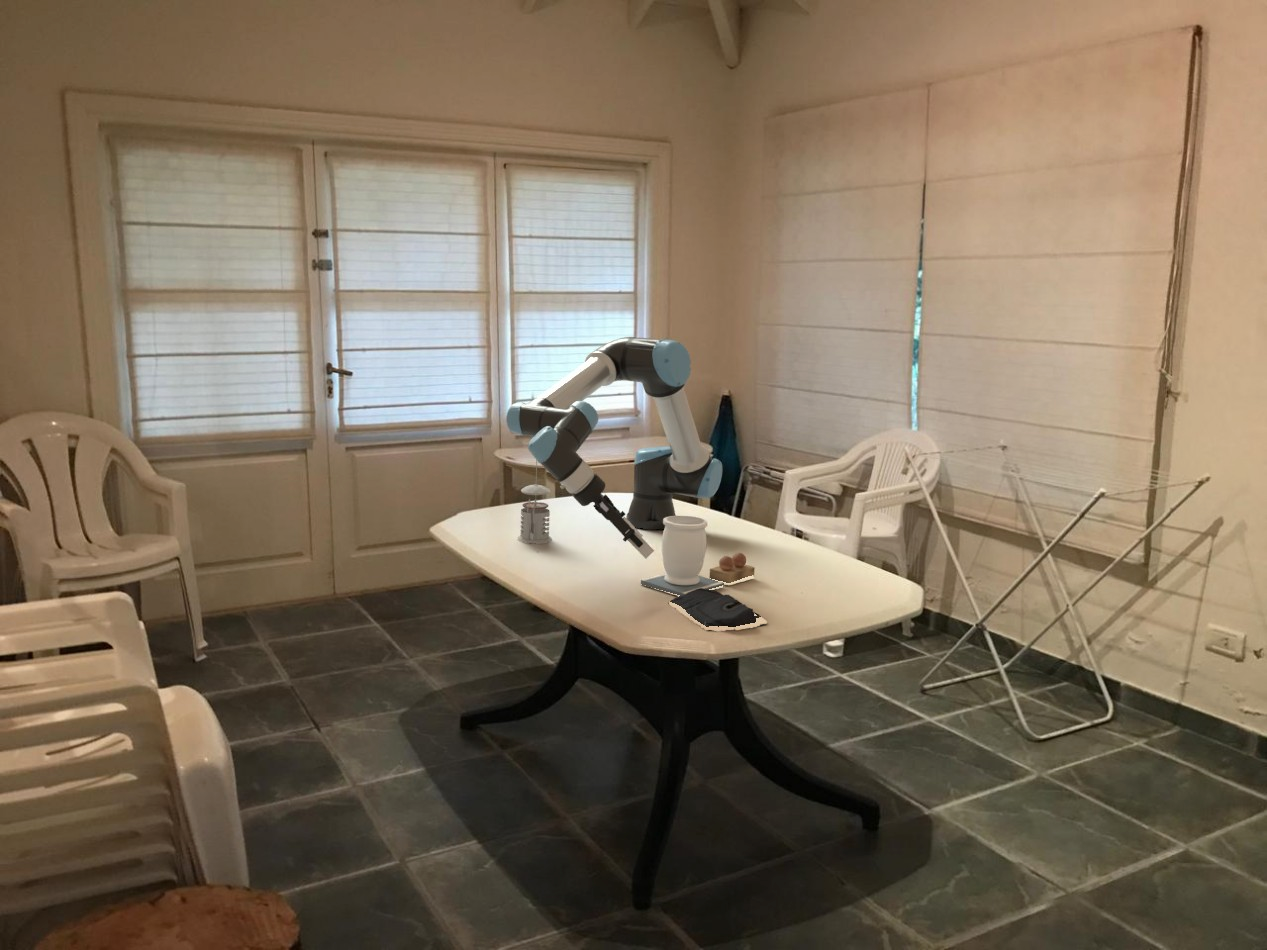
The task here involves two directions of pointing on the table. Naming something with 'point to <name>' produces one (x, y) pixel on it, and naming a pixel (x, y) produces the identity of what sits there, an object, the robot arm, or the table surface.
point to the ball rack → (732, 569)
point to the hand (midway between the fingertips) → (644, 546)
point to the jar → (683, 549)
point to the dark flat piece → (715, 608)
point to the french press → (535, 516)
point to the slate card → (680, 590)
